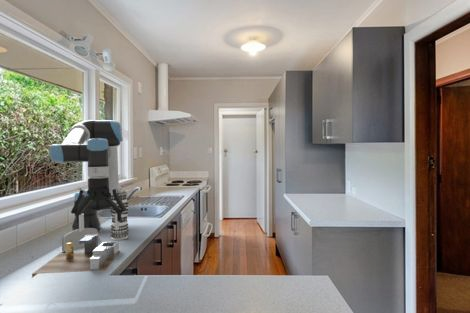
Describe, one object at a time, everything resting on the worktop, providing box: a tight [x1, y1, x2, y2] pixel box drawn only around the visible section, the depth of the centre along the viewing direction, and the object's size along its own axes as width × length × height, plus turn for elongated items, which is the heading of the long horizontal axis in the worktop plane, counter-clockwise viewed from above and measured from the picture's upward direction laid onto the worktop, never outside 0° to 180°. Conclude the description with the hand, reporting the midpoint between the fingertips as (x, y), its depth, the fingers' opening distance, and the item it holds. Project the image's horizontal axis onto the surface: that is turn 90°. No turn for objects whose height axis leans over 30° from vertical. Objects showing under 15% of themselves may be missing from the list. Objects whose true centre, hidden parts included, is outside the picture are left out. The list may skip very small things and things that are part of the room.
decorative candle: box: [109, 189, 129, 241], centre depth 148 cm, size 9×9×25 cm
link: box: [90, 241, 120, 271], centre depth 116 cm, size 19×7×6 cm, turn 6°
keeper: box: [79, 233, 99, 254], centre depth 120 cm, size 8×5×9 cm, turn 6°
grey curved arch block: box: [61, 228, 102, 253], centre depth 134 cm, size 17×5×10 cm, turn 140°
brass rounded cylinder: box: [65, 242, 75, 259], centre depth 118 cm, size 3×3×8 cm
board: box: [31, 250, 121, 278], centre depth 115 cm, size 20×26×1 cm
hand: (99, 230), depth 112 cm, fingers open, 13 cm apart
